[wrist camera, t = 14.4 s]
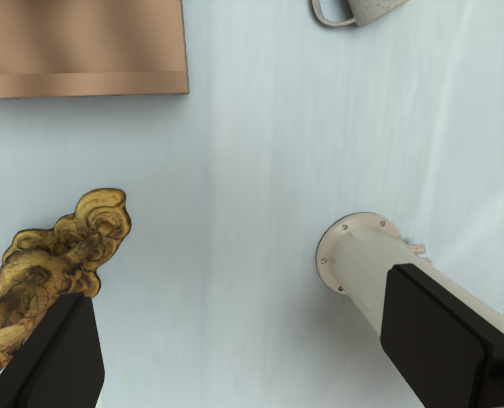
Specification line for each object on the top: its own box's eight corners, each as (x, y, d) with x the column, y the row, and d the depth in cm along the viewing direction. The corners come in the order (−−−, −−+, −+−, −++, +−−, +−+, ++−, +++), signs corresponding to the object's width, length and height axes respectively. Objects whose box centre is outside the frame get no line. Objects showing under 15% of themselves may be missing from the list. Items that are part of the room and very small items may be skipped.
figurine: (-42, 309, 42) (-235, 483, 23) (76, 157, 39) (-35, 215, 20) (52, 356, 47) (-46, 537, 27) (167, 221, 43) (145, 321, 24)
